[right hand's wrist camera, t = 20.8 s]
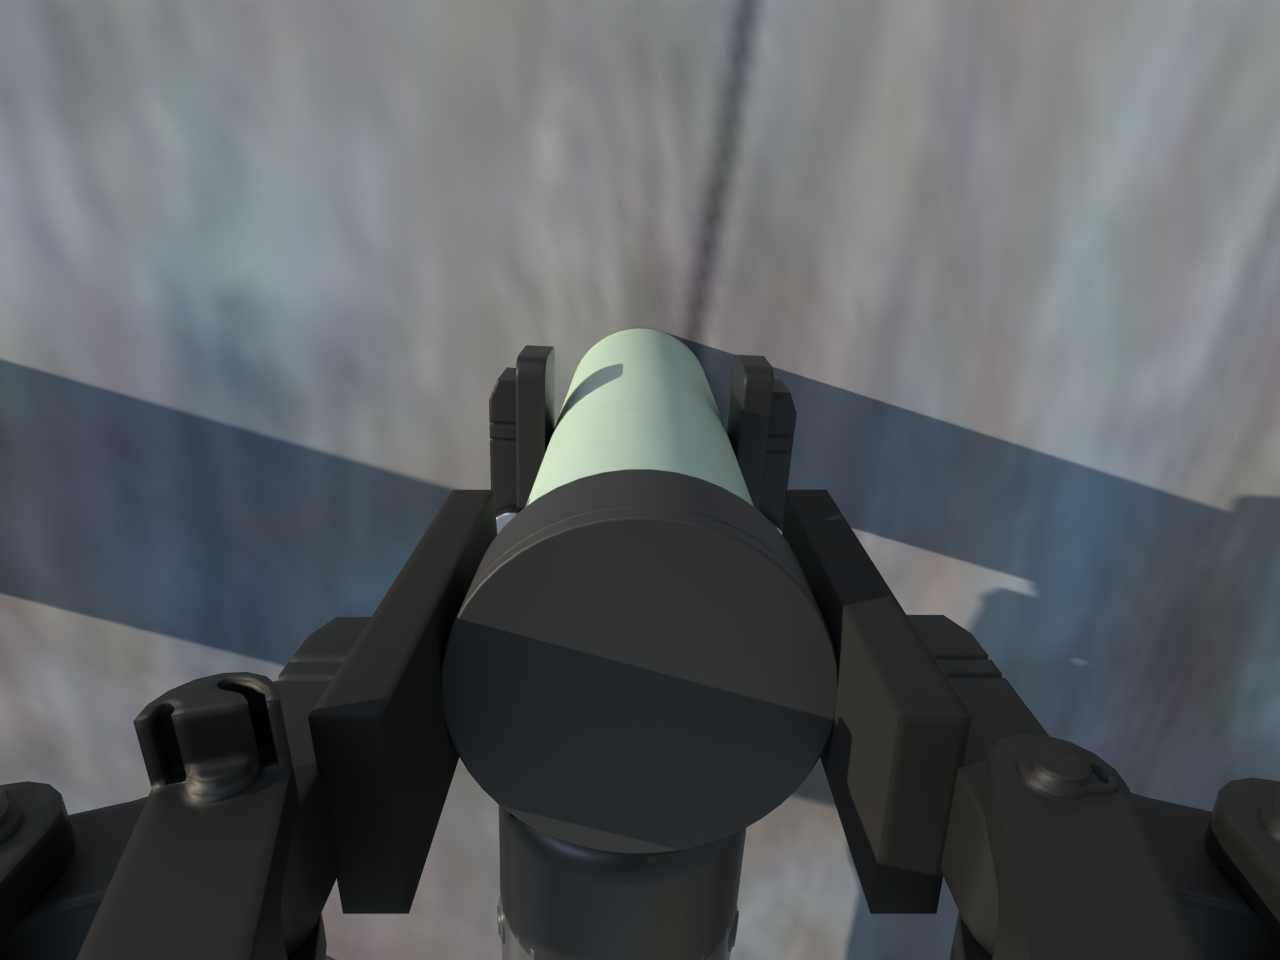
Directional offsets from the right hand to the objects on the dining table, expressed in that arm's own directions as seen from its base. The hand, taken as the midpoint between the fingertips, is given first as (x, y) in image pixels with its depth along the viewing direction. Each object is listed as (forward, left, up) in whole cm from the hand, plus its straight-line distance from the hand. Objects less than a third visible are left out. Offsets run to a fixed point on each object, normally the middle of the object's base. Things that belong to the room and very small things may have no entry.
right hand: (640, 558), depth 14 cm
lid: (0, 0, +4) cm, 4 cm away
